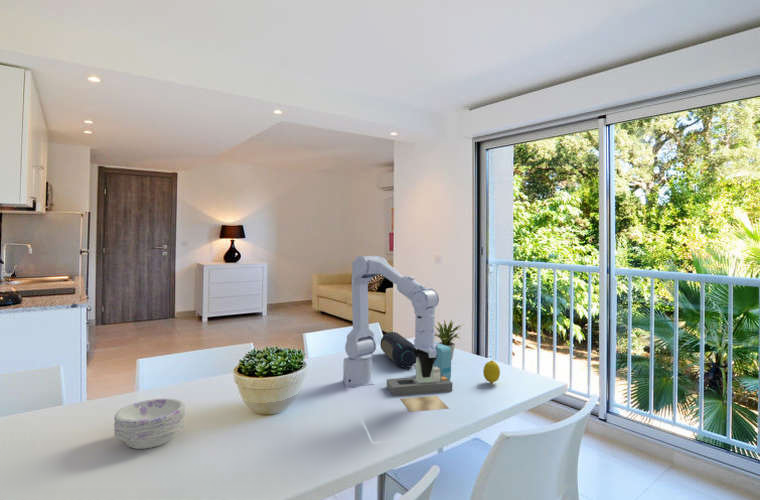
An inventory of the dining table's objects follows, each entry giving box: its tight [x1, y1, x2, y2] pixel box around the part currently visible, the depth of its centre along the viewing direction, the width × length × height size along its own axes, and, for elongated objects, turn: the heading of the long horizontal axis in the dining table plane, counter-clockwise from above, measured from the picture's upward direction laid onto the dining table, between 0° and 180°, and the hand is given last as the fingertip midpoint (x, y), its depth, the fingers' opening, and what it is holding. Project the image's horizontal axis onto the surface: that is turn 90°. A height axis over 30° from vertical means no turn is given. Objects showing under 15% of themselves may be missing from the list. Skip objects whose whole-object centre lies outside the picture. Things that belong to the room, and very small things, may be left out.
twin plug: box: [426, 367, 440, 383], centre depth 143 cm, size 4×3×7 cm, turn 103°
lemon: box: [482, 359, 501, 384], centre depth 149 cm, size 6×6×8 cm
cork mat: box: [400, 395, 450, 413], centre depth 130 cm, size 12×10×1 cm
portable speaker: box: [379, 331, 416, 368], centre depth 175 cm, size 25×10×10 cm, turn 16°
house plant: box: [434, 319, 465, 361], centre depth 177 cm, size 14×14×16 cm
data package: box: [434, 341, 452, 381], centre depth 155 cm, size 12×4×12 cm, turn 36°
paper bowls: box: [113, 398, 186, 450], centre depth 106 cm, size 15×15×8 cm
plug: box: [415, 357, 434, 383], centre depth 129 cm, size 4×3×7 cm, turn 103°
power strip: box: [386, 375, 453, 397], centre depth 142 cm, size 20×8×4 cm, turn 103°
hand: (424, 375), depth 129 cm, fingers closed on plug, 3 cm apart
